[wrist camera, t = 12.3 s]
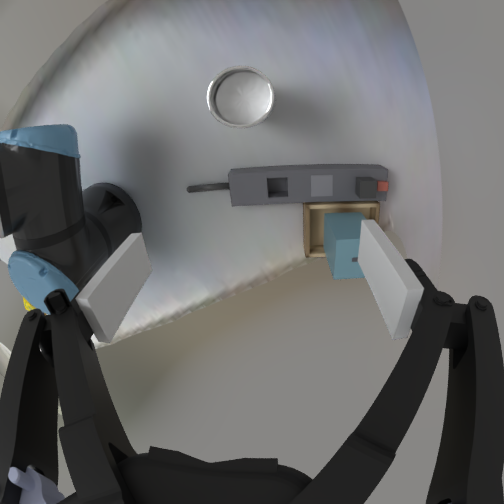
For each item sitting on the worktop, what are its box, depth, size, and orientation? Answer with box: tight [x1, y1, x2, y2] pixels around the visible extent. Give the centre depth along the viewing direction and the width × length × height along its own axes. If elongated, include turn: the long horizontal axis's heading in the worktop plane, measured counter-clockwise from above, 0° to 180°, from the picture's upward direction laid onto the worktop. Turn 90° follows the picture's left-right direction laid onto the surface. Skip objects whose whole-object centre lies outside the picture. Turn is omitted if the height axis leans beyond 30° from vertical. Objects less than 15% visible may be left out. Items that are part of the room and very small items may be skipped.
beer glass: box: [207, 66, 276, 128], centre depth 30 cm, size 7×7×15 cm
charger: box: [323, 212, 367, 279], centre depth 40 cm, size 6×6×12 cm
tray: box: [303, 201, 380, 257], centre depth 44 cm, size 12×9×4 cm
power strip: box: [187, 164, 388, 206], centre depth 40 cm, size 32×5×6 cm, turn 95°
